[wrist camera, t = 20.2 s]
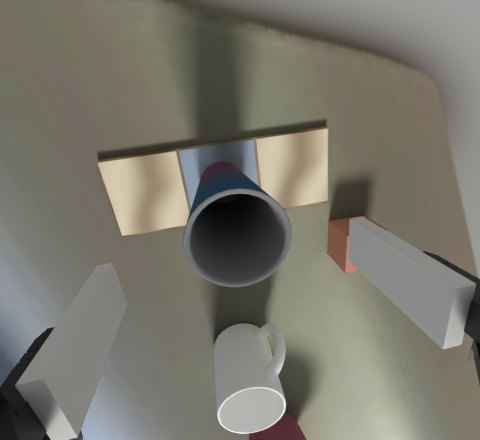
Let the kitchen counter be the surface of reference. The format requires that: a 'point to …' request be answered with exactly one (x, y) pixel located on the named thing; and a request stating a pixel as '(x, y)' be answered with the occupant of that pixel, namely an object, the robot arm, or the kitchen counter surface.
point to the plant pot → (280, 430)
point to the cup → (235, 229)
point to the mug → (249, 377)
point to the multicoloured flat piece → (194, 164)
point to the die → (341, 242)
